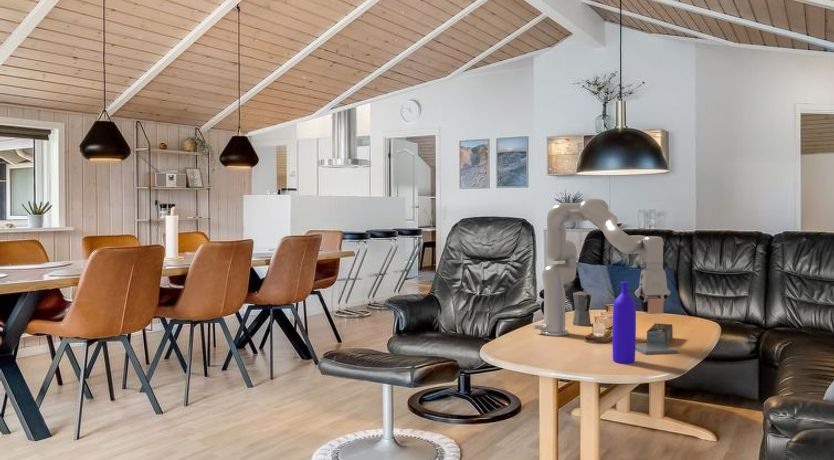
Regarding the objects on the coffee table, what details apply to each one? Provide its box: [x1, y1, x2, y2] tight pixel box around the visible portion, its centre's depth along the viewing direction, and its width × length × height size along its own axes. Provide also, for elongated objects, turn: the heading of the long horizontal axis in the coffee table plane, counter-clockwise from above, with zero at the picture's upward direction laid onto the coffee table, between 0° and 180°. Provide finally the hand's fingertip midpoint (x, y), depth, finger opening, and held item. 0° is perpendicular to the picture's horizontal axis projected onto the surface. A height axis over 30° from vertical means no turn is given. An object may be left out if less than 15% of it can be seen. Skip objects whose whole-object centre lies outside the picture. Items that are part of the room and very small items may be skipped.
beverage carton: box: [646, 322, 674, 346], centre depth 288 cm, size 8×19×7 cm, turn 150°
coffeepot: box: [572, 287, 592, 327], centre depth 325 cm, size 15×9×18 cm, turn 9°
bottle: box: [612, 281, 637, 365], centre depth 250 cm, size 8×8×30 cm
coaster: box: [635, 342, 679, 355], centre depth 270 cm, size 14×14×1 cm
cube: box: [641, 296, 664, 315], centre depth 270 cm, size 6×6×6 cm
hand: (652, 310), depth 270 cm, fingers closed on cube, 6 cm apart
